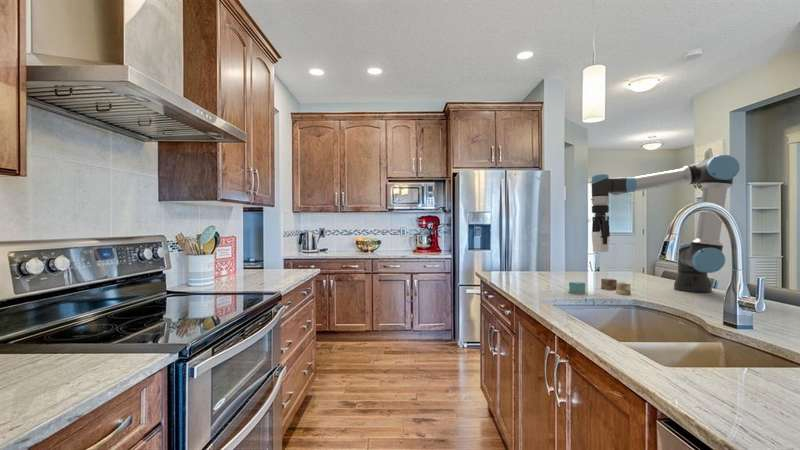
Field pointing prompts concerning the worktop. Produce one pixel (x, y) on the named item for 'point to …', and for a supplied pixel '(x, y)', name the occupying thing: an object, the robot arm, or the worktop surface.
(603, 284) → the walnut block
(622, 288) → the maple block
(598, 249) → the white cup
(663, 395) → the worktop surface
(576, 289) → the teal painted block
